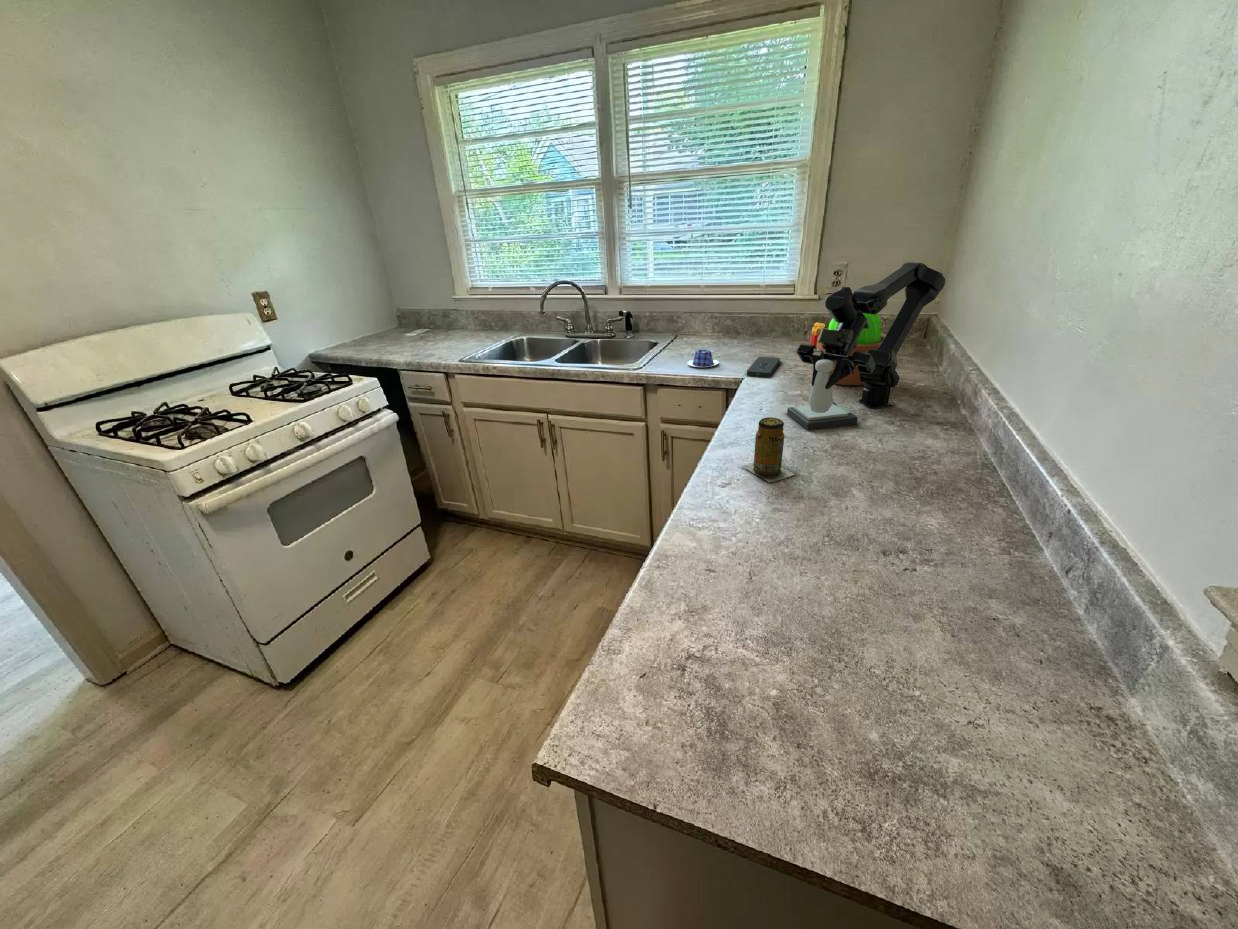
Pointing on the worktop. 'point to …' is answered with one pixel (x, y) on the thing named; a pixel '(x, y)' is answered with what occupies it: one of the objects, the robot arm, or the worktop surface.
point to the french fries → (816, 333)
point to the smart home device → (763, 366)
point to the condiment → (769, 451)
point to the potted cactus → (860, 345)
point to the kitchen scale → (822, 417)
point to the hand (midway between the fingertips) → (819, 387)
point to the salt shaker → (821, 388)
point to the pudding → (703, 359)
